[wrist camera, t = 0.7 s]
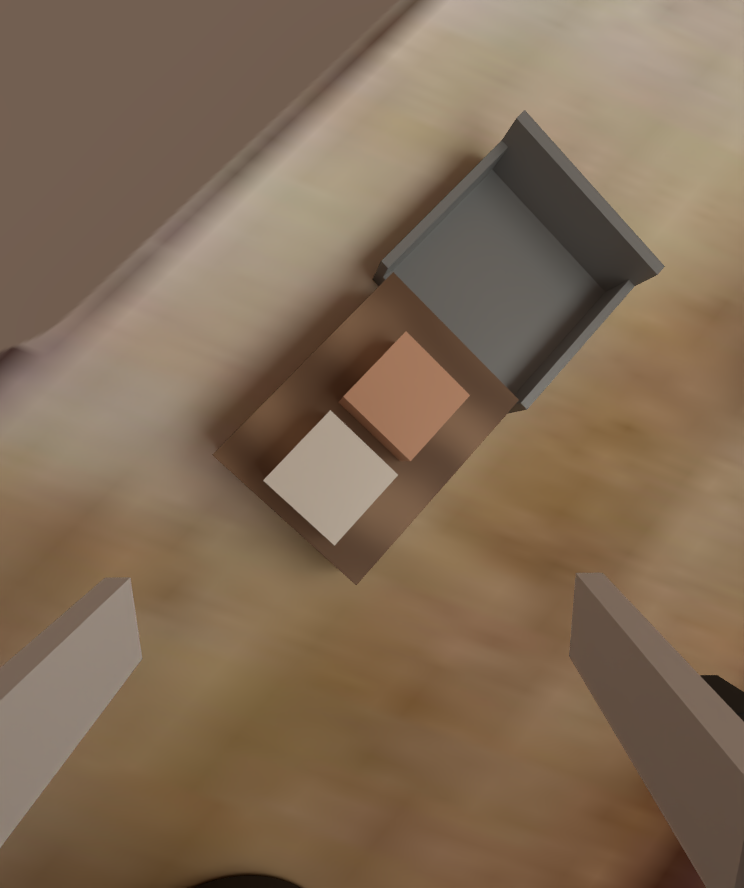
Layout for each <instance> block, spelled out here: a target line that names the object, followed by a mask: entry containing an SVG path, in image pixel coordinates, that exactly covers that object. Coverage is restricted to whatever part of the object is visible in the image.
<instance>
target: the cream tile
mask: <svg viewBox="0 0 744 888" xmlns="http://www.w3.org/2000/svg"><path fill="white" fill-rule="evenodd" d="M397 476H398V474H397V473H396V472H395V471H394V470H393V469H392V468H391V467H389V466H388V465H387V464H386V463H385V462H384V461H383V460H382V459H381V458H380V457H379V456H378V455H377V454H376V453H375V452H374V451H373V450H372V449H371V448H370V447H368V446H367V445H366V444H365V443H364V442H363V441H362V440H361V439H360V438H359V437H358V436H357V435H356V434H355V433H354V432H353V431H352V430H351V429H350V428H349V427H347V426H346V425H345V424H344V423H343V422H342V421H341V420H340V419H339V418H338V417H337V416H336V415H335V414H334V413H333V412H332V411H331V410H330V411H329V412H328V413H327V414H326V415H325V416H324V417H323V418H322V419H321V420H320V421H319V423H318V424H317V425H316V426H315V427H314V428H313V429H312V430H311V431H310V432H309V433H308V434H307V435H306V436H305V437H304V438H303V439H302V440H301V441H300V442H299V443H298V444H297V446H296V447H295V448H294V449H293V450H292V451H291V452H290V453H289V454H288V455H287V456H286V457H285V458H284V459H283V460H282V461H281V462H280V463H279V464H278V465H277V466H276V467H275V469H274V470H273V471H272V472H271V473H270V474H269V475H268V476H267V477H266V478H265V479H264V480H263V481H264V482H265V483H266V484H267V485H269V486H270V487H271V488H272V489H273V490H274V491H275V492H276V493H277V494H278V495H280V496H281V497H282V498H283V499H284V500H285V501H286V502H287V503H288V504H289V505H291V506H292V507H293V508H294V509H295V510H296V511H297V512H298V513H299V514H300V515H302V516H303V517H304V518H305V519H306V520H307V521H308V522H309V523H310V524H311V525H312V526H314V527H315V528H316V529H317V530H318V531H319V532H320V533H321V534H322V535H323V536H325V537H326V538H327V539H328V540H329V541H330V542H331V543H332V544H333V545H334V546H335V545H336V543H337V542H338V541H339V540H340V539H341V538H342V537H343V536H344V535H345V533H346V532H347V531H348V530H349V529H350V528H351V527H352V526H353V525H354V523H355V522H356V521H357V520H358V519H359V518H360V517H361V516H362V515H363V514H364V512H365V511H366V510H367V509H368V508H369V507H370V506H371V505H372V504H373V502H374V501H375V500H376V499H377V498H378V497H379V496H380V495H381V494H382V492H383V491H384V490H385V489H386V488H387V487H388V486H389V485H390V484H391V482H392V481H393V480H394V479H395V478H396V477H397Z"/></svg>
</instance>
